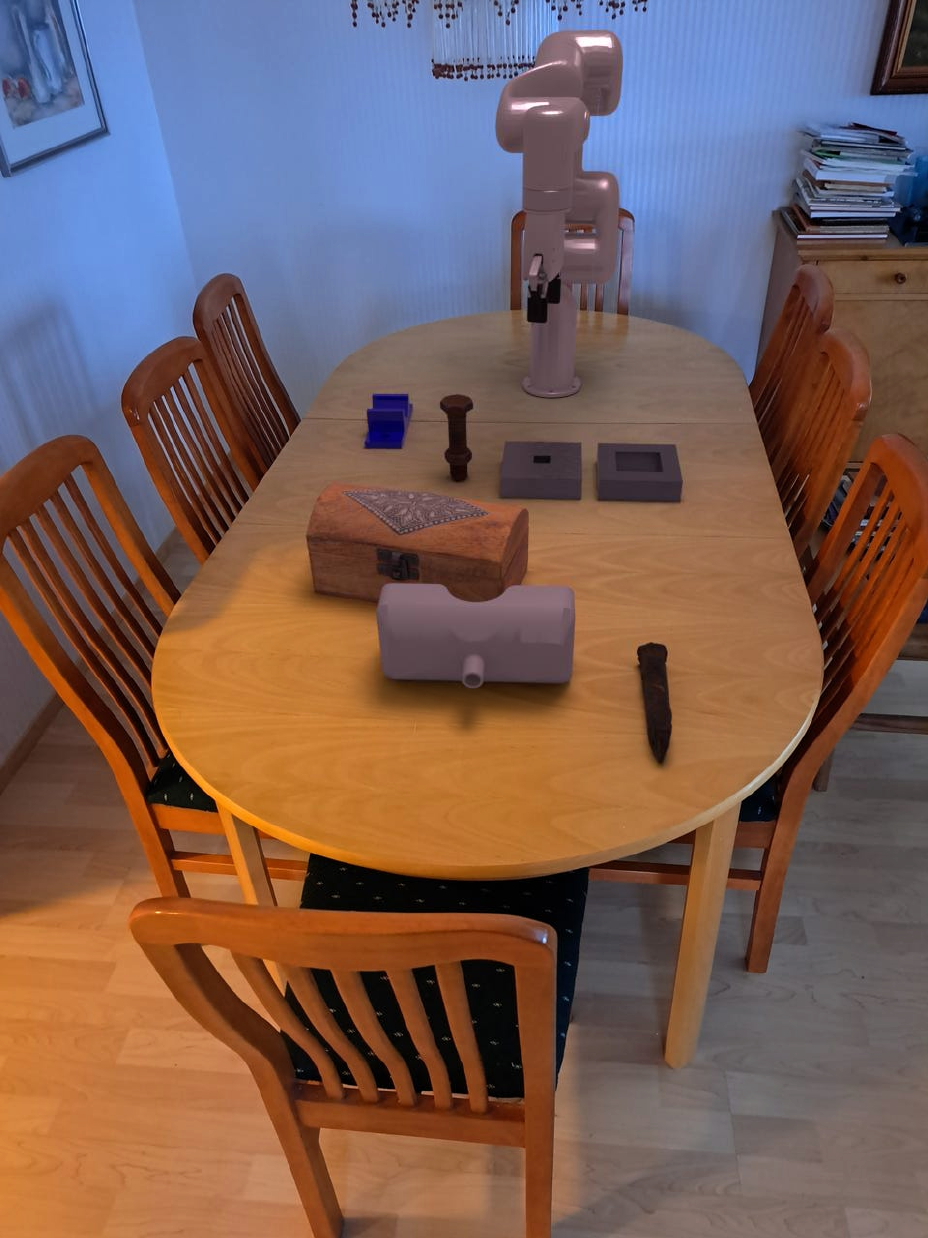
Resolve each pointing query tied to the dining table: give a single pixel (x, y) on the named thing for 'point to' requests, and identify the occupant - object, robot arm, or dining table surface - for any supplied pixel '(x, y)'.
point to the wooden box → (414, 543)
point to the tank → (476, 635)
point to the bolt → (457, 434)
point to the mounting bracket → (388, 421)
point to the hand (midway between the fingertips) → (543, 312)
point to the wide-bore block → (638, 472)
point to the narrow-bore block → (541, 470)
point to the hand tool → (656, 696)
